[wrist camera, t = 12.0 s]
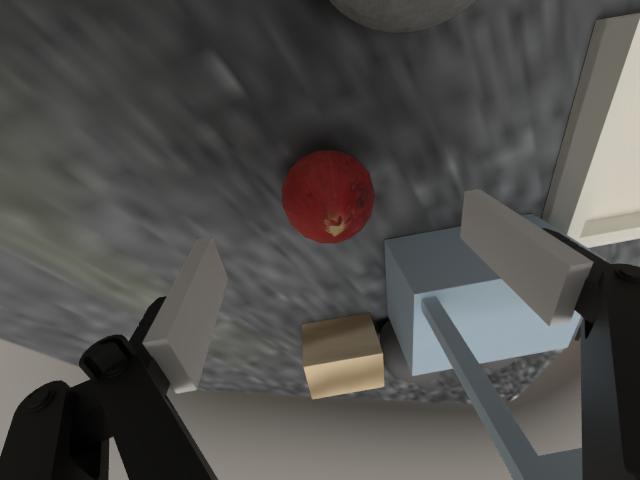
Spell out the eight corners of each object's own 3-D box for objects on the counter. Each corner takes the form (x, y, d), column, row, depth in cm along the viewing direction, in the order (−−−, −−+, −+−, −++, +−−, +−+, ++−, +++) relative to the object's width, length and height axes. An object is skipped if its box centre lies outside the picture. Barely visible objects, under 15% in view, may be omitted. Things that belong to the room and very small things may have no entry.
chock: (301, 323, 30) (303, 367, 26) (369, 311, 30) (382, 353, 26) (308, 355, 33) (312, 399, 29) (371, 344, 33) (384, 386, 29)
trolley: (367, 243, 26) (480, 495, 11) (531, 213, 26) (868, 423, 11) (374, 336, 32) (452, 577, 17) (506, 312, 32) (698, 530, 17)
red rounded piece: (347, 124, 21) (378, 157, 14) (368, 197, 24) (403, 253, 17) (269, 155, 21) (262, 201, 14) (300, 222, 24) (306, 287, 17)
